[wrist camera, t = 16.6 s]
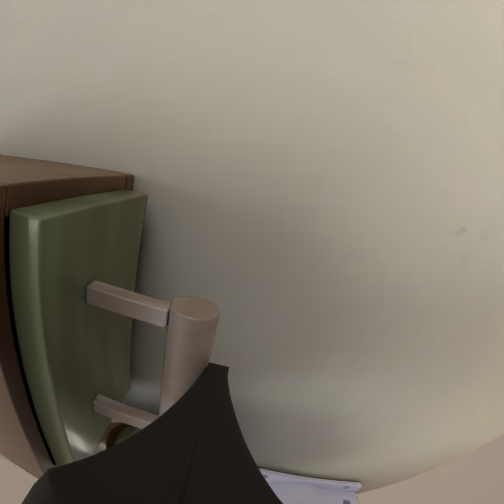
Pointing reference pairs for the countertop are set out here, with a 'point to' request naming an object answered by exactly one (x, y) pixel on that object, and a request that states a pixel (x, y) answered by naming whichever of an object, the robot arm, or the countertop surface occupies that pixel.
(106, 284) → the drawer
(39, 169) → the cabinet
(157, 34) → the countertop surface
